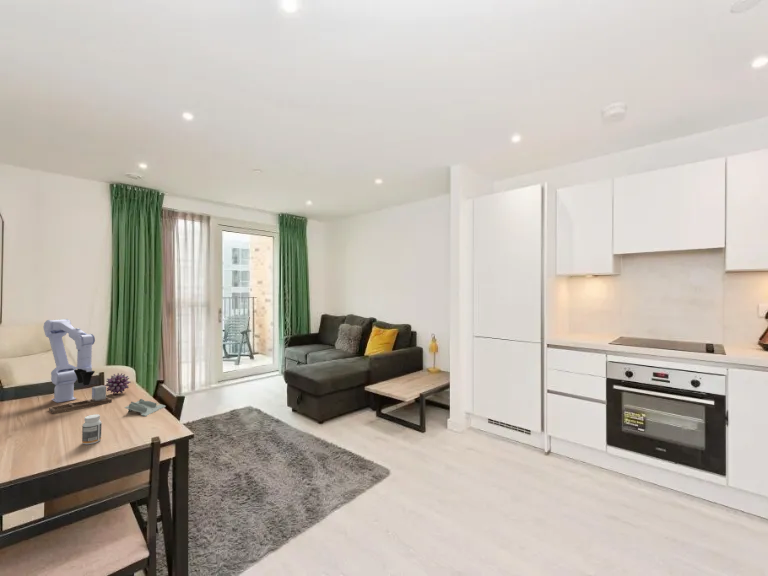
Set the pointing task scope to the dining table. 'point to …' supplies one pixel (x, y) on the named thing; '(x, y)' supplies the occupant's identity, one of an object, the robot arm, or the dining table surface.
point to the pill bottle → (91, 429)
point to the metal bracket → (144, 407)
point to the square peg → (98, 393)
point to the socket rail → (73, 406)
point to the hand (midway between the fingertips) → (83, 383)
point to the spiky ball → (117, 383)
